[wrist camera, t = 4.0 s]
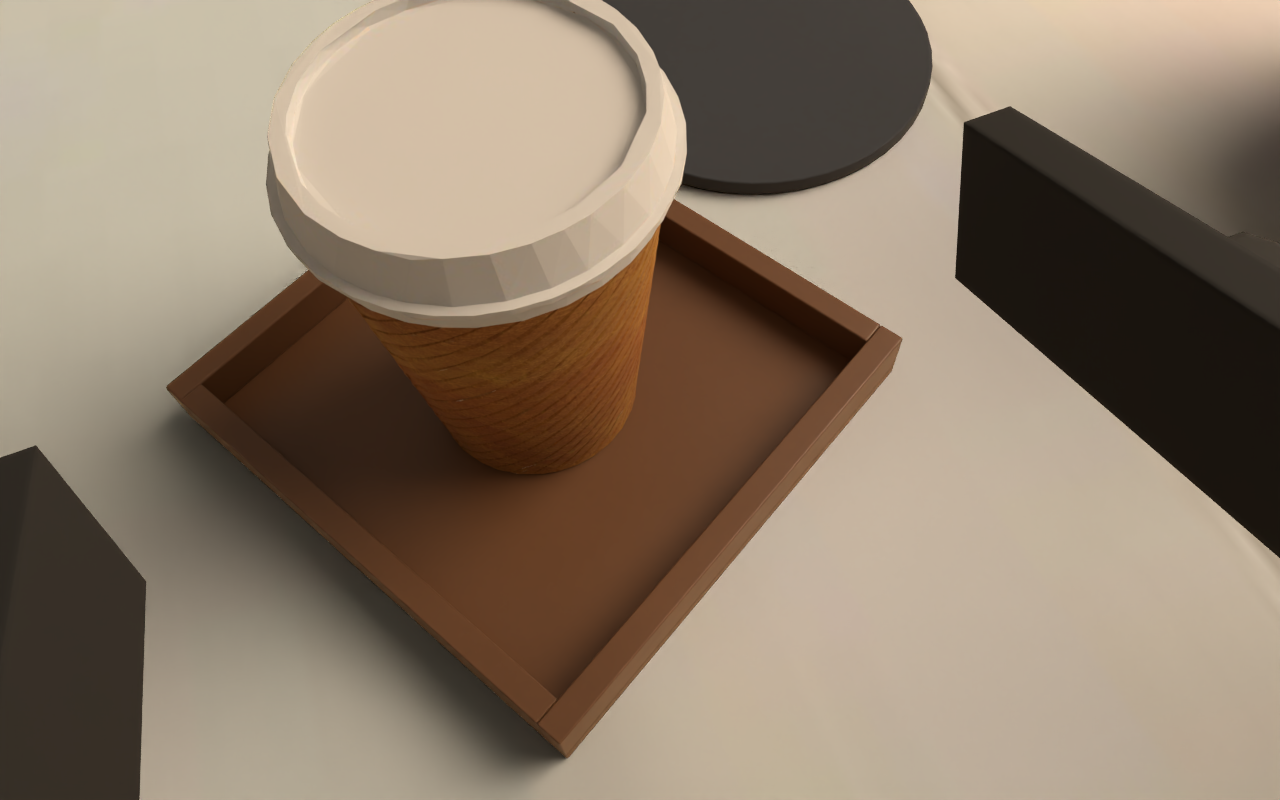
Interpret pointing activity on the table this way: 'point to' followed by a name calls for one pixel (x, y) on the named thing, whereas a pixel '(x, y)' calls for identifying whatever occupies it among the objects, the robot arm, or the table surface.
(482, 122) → the disposable coffee cup
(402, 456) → the tray
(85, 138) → the table surface
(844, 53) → the coaster
